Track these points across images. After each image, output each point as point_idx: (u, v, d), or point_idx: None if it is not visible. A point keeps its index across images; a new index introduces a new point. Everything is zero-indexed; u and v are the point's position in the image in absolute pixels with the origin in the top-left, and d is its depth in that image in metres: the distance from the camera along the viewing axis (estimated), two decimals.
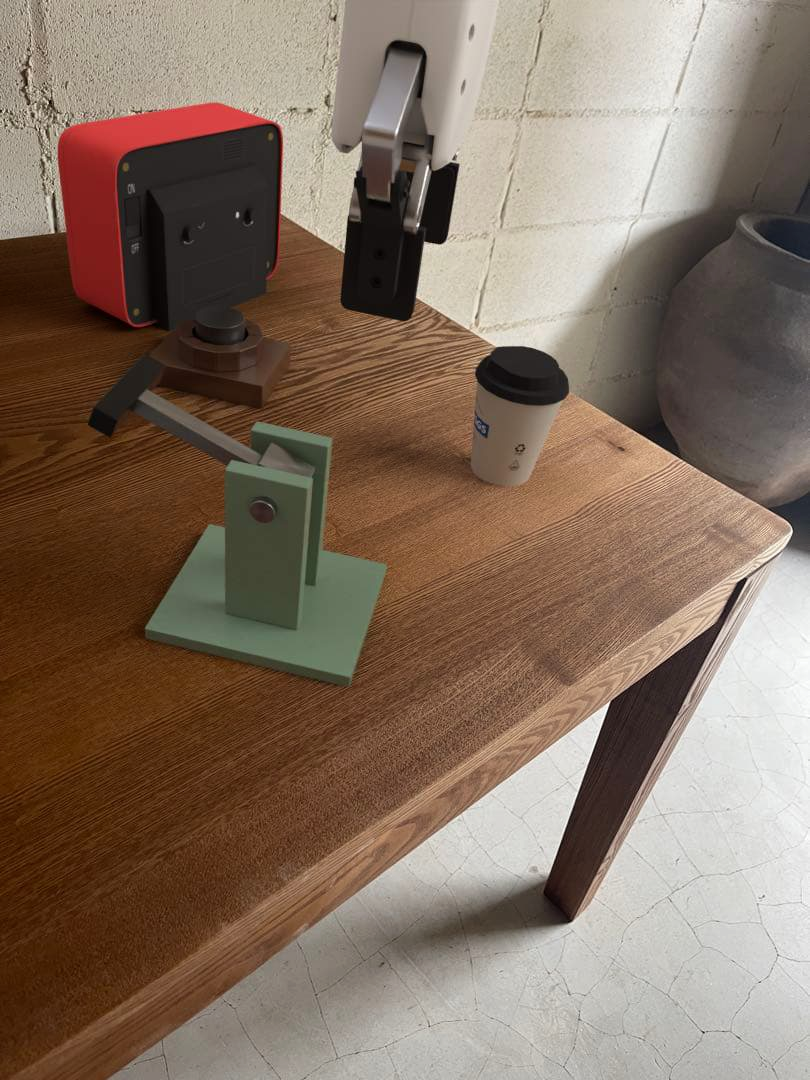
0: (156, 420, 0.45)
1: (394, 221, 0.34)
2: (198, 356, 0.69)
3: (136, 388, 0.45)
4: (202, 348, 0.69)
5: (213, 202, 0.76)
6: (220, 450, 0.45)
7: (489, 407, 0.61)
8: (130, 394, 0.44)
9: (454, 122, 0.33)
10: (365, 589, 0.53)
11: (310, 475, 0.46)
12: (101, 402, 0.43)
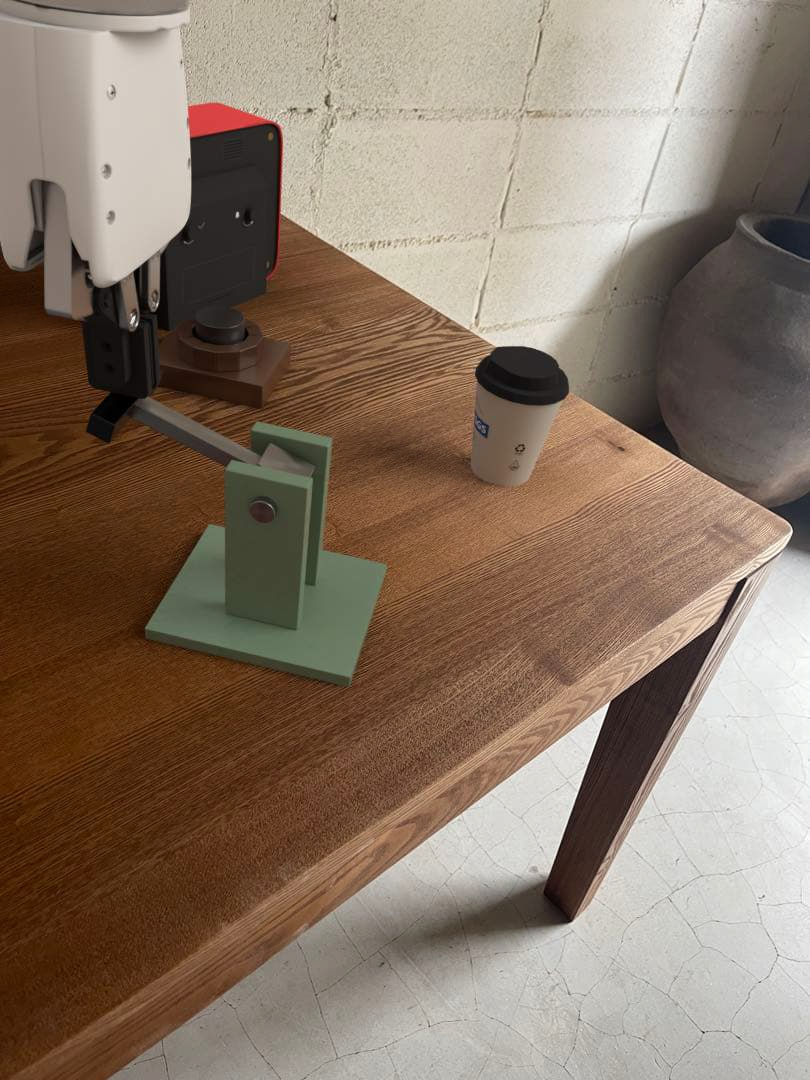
0: (154, 425, 0.45)
1: (109, 322, 0.40)
2: (198, 356, 0.69)
3: None
4: (202, 348, 0.69)
5: (213, 202, 0.76)
6: (219, 452, 0.46)
7: (489, 407, 0.61)
8: (127, 400, 0.44)
9: (108, 248, 0.35)
10: (365, 589, 0.53)
11: (310, 474, 0.46)
12: (98, 408, 0.43)
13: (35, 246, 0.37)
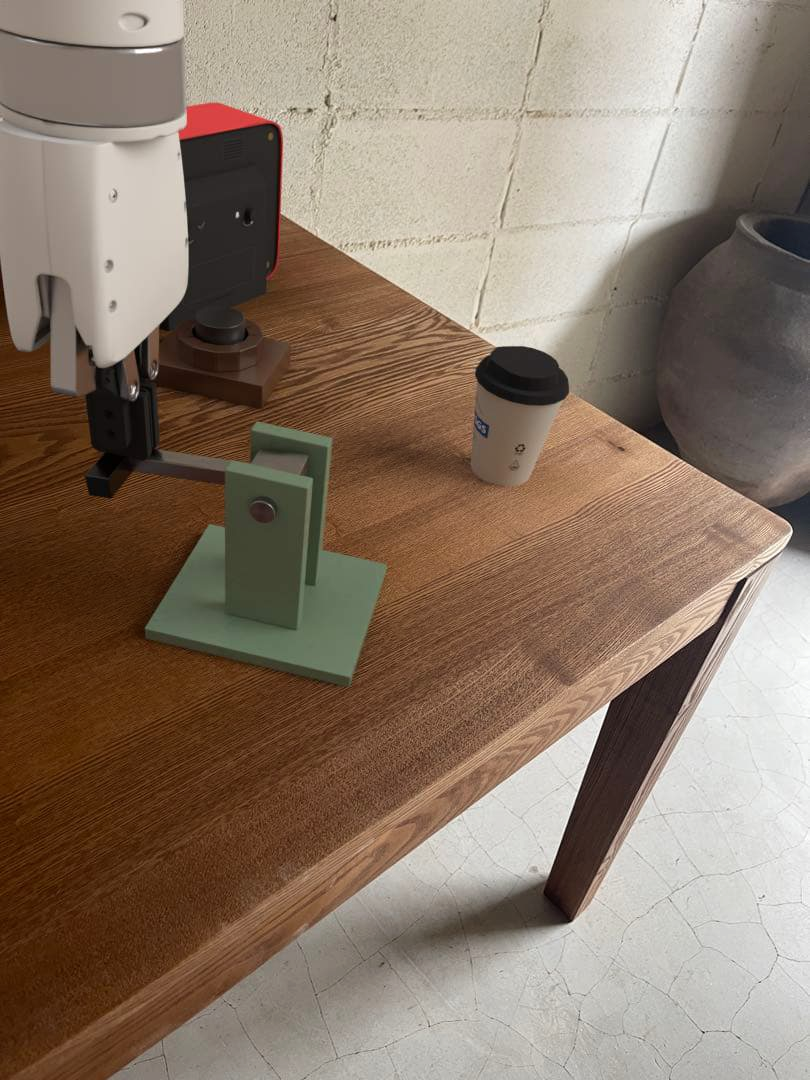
0: (152, 469, 0.47)
1: (111, 394, 0.43)
2: (198, 356, 0.69)
3: None
4: (202, 348, 0.69)
5: (213, 202, 0.76)
6: (214, 473, 0.46)
7: (489, 407, 0.61)
8: None
9: (110, 334, 0.38)
10: (365, 589, 0.53)
11: (302, 463, 0.46)
12: (91, 470, 0.45)
13: (42, 328, 0.40)
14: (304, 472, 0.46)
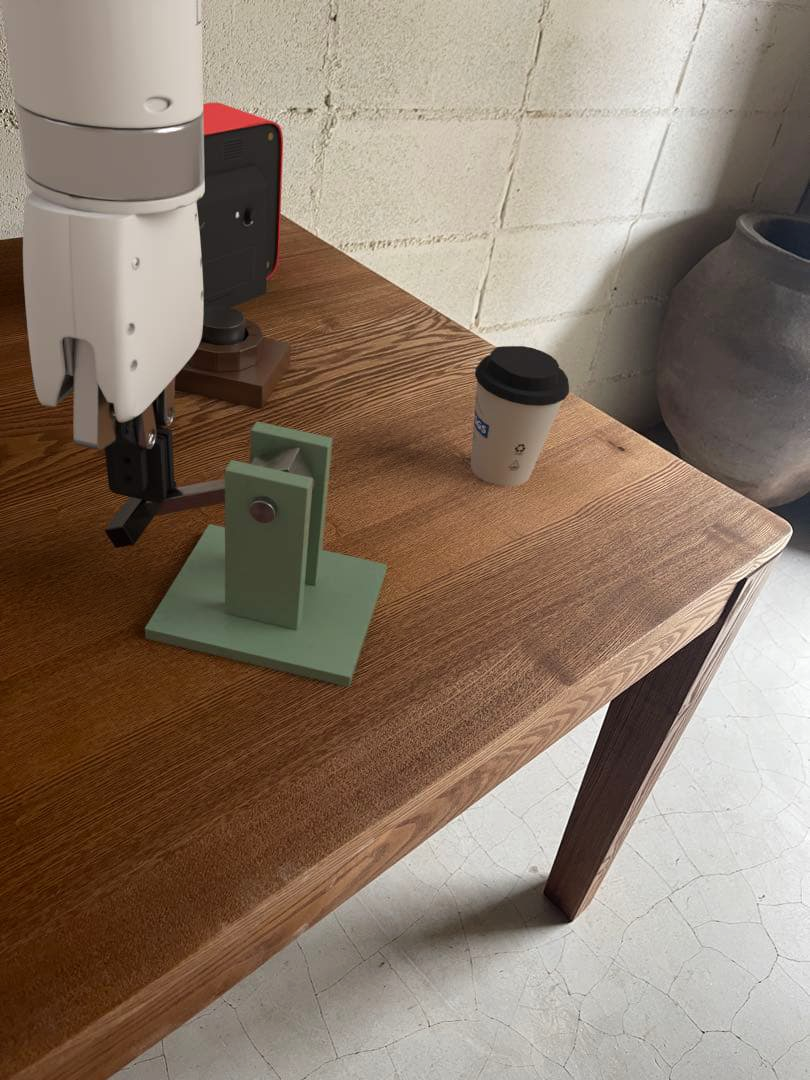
0: (167, 508, 0.49)
1: (129, 443, 0.44)
2: (198, 356, 0.69)
3: None
4: (202, 348, 0.69)
5: (213, 202, 0.76)
6: (219, 493, 0.47)
7: (489, 407, 0.61)
8: (135, 504, 0.49)
9: (130, 391, 0.39)
10: (365, 589, 0.53)
11: (293, 455, 0.46)
12: (110, 523, 0.48)
13: (64, 382, 0.41)
14: (297, 464, 0.46)
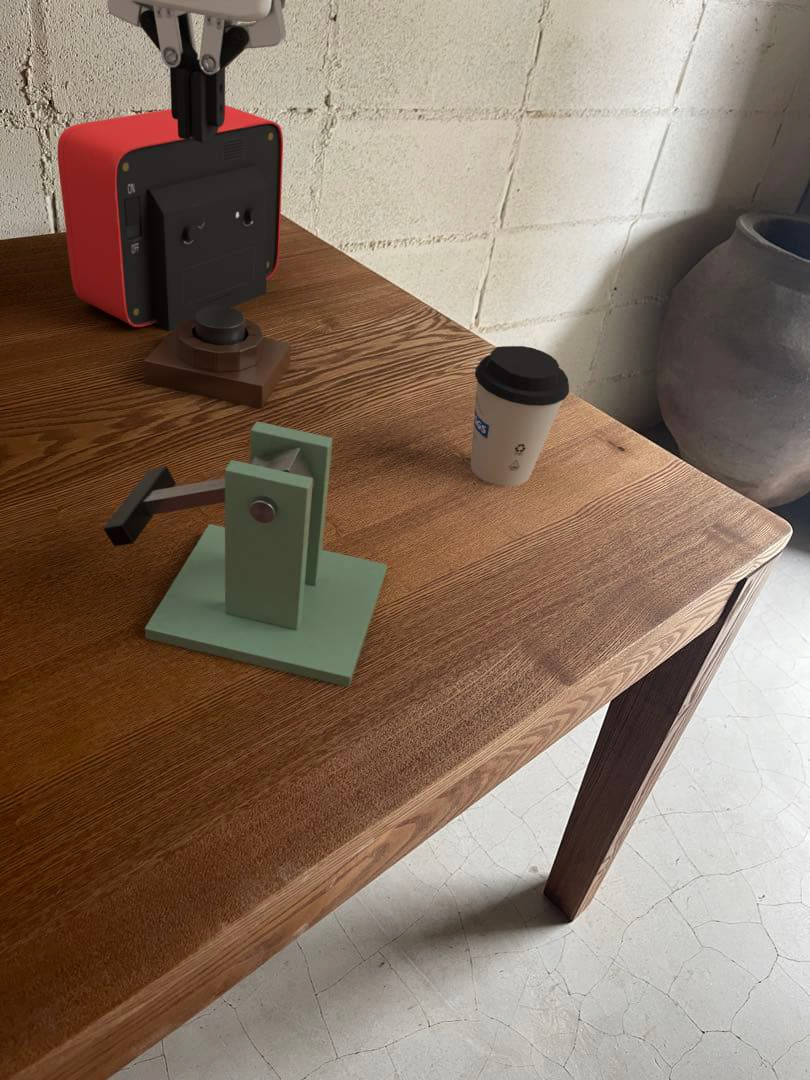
0: (166, 507, 0.49)
1: None
2: (198, 356, 0.69)
3: (139, 495, 0.49)
4: (202, 348, 0.69)
5: (213, 202, 0.76)
6: (219, 492, 0.47)
7: (489, 407, 0.61)
8: (134, 502, 0.49)
9: None
10: (365, 589, 0.53)
11: (293, 456, 0.46)
12: (109, 522, 0.47)
13: None
14: (298, 464, 0.46)
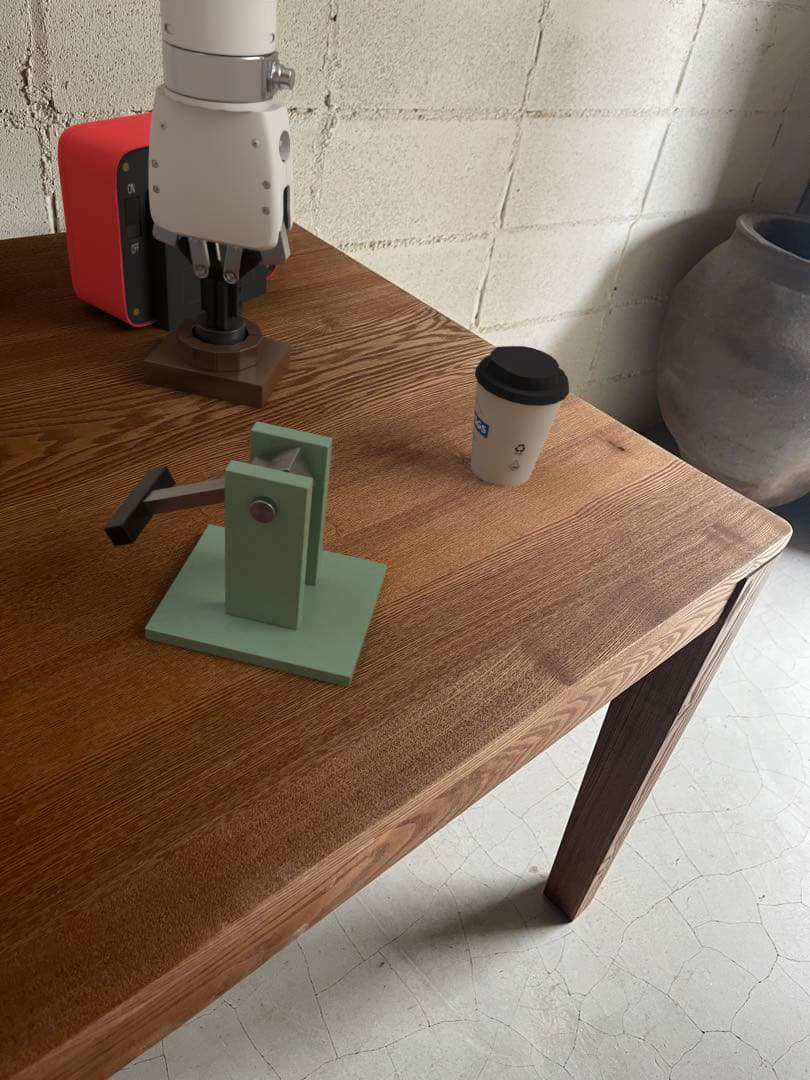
0: (166, 507, 0.49)
1: None
2: (198, 356, 0.69)
3: (139, 495, 0.49)
4: (202, 348, 0.69)
5: None
6: (219, 492, 0.47)
7: (489, 407, 0.61)
8: (134, 502, 0.49)
9: (153, 204, 0.64)
10: (365, 589, 0.53)
11: (293, 456, 0.46)
12: (109, 522, 0.47)
13: None
14: (298, 464, 0.46)
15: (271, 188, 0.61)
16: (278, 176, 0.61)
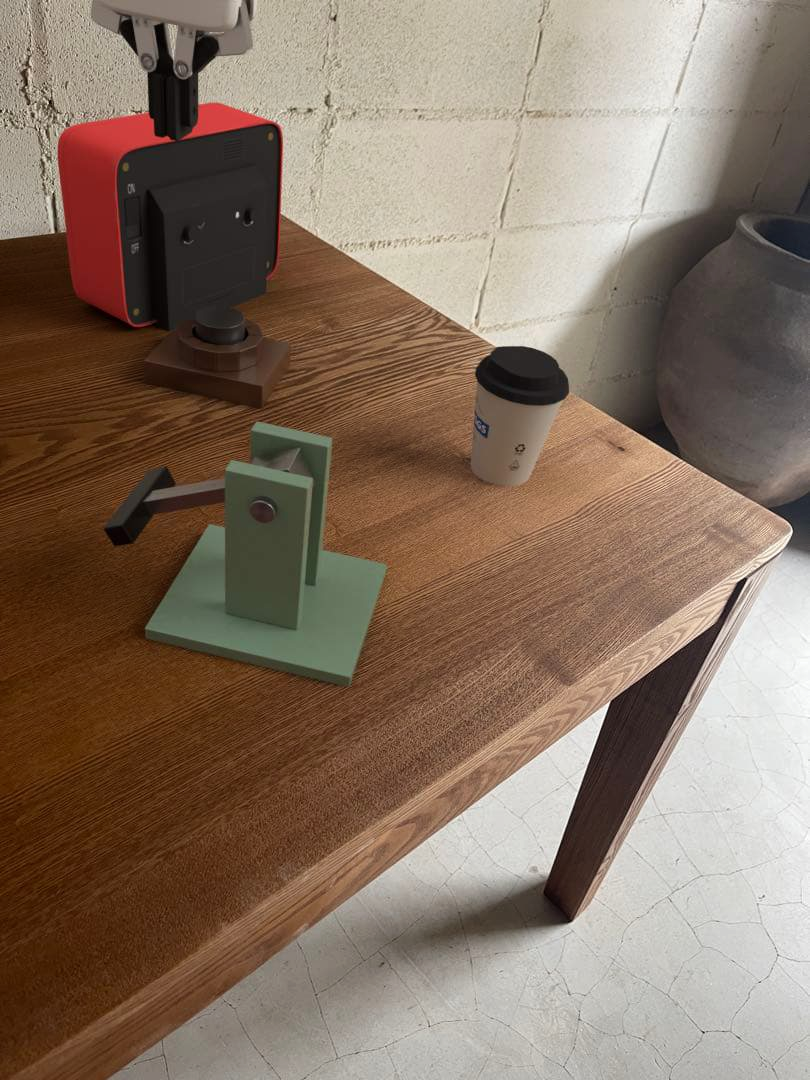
0: (166, 507, 0.49)
1: None
2: (198, 356, 0.69)
3: (139, 495, 0.49)
4: (202, 348, 0.69)
5: (213, 202, 0.76)
6: (219, 492, 0.47)
7: (489, 407, 0.61)
8: (134, 502, 0.49)
9: None
10: (365, 589, 0.53)
11: (293, 456, 0.46)
12: (109, 522, 0.47)
13: None
14: (298, 464, 0.46)
15: None
16: None
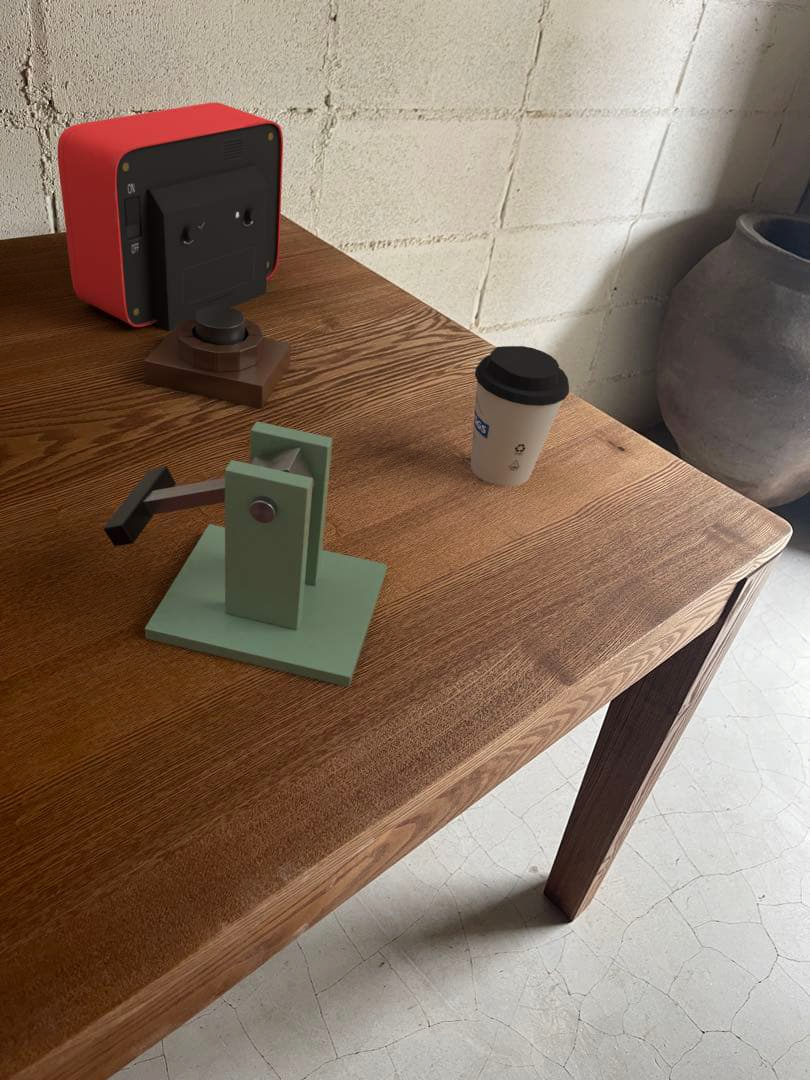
0: (166, 507, 0.49)
1: None
2: (198, 356, 0.69)
3: (139, 495, 0.49)
4: (202, 348, 0.69)
5: (213, 202, 0.76)
6: (219, 492, 0.47)
7: (489, 407, 0.61)
8: (134, 502, 0.49)
9: None
10: (365, 589, 0.53)
11: (293, 456, 0.46)
12: (109, 522, 0.47)
13: None
14: (298, 464, 0.46)
15: None
16: None
